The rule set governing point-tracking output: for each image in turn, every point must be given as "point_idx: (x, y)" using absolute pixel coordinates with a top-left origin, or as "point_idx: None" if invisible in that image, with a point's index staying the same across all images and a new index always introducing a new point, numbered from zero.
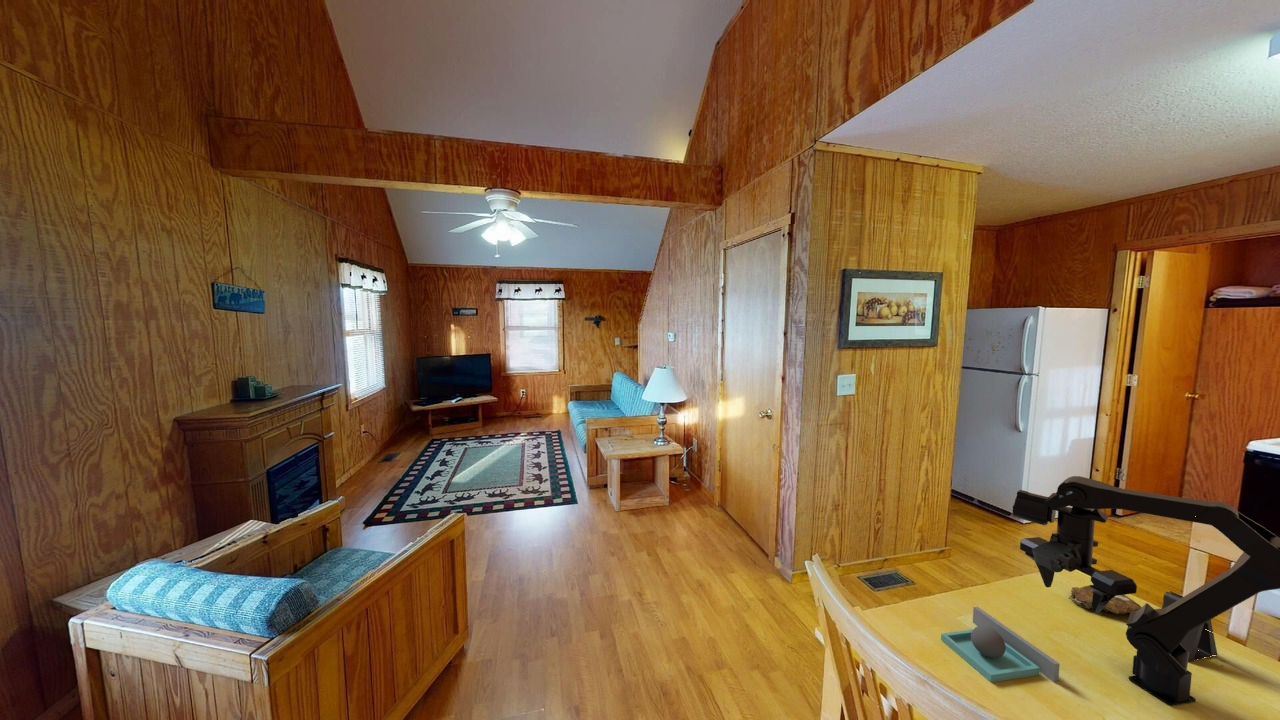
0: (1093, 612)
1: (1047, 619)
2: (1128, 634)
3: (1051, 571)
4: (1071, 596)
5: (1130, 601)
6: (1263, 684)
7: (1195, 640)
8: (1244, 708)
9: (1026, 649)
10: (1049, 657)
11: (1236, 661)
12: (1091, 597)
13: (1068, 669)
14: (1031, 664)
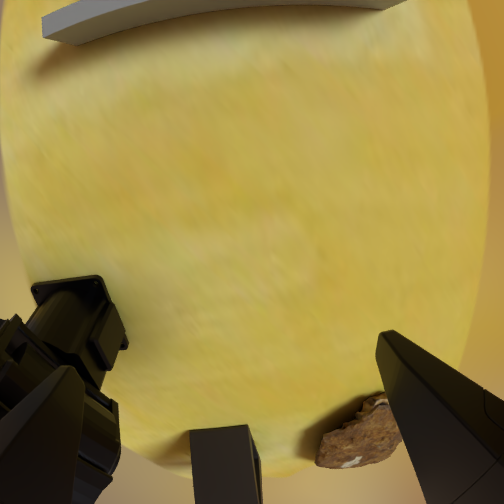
0: (62, 366)
1: (364, 283)
2: (4, 365)
3: (427, 464)
4: None
5: (338, 466)
6: (150, 458)
7: (193, 475)
8: None
9: None
10: (69, 19)
11: None
12: (371, 429)
13: (124, 124)
14: None
